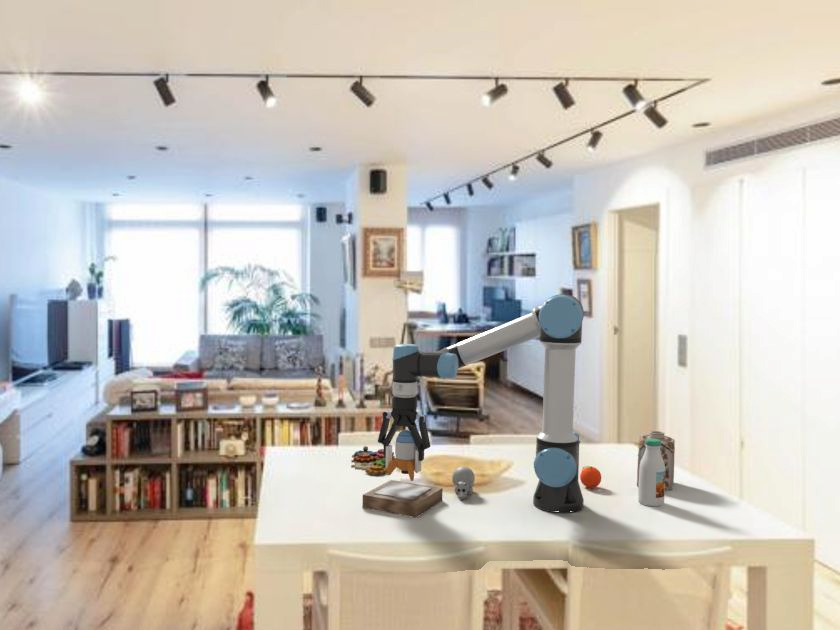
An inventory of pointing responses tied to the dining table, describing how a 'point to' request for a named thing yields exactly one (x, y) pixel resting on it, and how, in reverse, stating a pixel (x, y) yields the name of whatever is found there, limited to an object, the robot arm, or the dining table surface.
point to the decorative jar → (666, 453)
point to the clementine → (590, 477)
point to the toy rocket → (404, 454)
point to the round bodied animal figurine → (463, 481)
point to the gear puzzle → (370, 461)
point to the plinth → (402, 498)
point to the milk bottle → (652, 475)
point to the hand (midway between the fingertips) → (403, 468)
